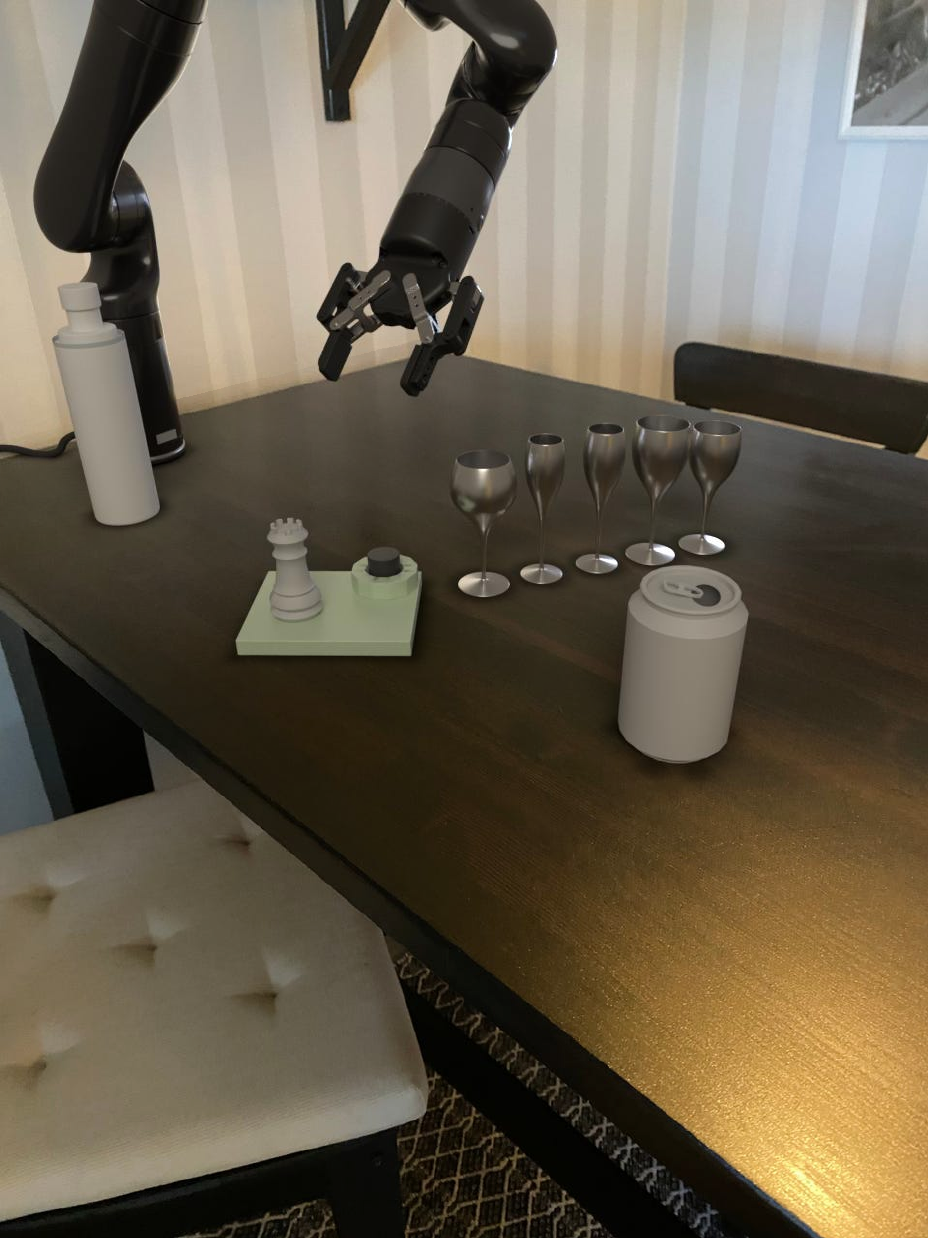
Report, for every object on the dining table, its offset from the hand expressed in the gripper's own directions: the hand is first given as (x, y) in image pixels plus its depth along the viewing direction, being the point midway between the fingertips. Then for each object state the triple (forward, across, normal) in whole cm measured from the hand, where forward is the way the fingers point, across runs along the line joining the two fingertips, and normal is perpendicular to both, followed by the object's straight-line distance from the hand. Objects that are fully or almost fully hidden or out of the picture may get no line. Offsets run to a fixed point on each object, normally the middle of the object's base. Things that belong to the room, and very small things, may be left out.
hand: (366, 383), depth 76 cm
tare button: (+13, +4, +8) cm, 16 cm away
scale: (+19, +2, +6) cm, 20 cm away
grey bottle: (+15, -32, +11) cm, 36 cm away
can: (+19, +33, +6) cm, 38 cm away
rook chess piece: (+20, 0, +4) cm, 20 cm away
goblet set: (+5, +17, +20) cm, 27 cm away
